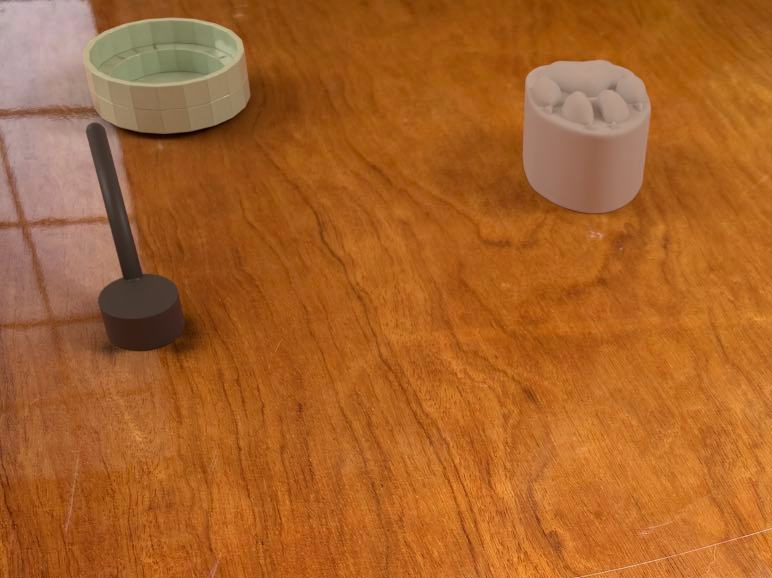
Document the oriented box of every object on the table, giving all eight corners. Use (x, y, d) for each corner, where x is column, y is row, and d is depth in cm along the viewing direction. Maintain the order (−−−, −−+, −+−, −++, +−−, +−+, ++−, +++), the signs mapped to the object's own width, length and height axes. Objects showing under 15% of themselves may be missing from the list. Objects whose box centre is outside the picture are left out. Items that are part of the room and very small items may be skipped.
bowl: (162, 156, 103) (151, 102, 100) (63, 103, 109) (49, 50, 105) (282, 101, 111) (275, 49, 108) (183, 55, 117) (174, 4, 113)
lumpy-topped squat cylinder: (625, 137, 109) (634, 45, 103) (656, 210, 101) (669, 115, 94) (515, 141, 108) (518, 48, 102) (538, 216, 99) (543, 119, 93)
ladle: (191, 342, 85) (165, 222, 78) (112, 356, 84) (78, 236, 76) (156, 229, 95) (131, 114, 88) (85, 240, 94) (53, 124, 86)
